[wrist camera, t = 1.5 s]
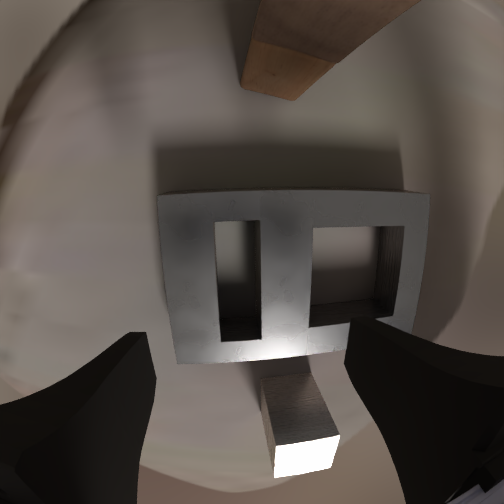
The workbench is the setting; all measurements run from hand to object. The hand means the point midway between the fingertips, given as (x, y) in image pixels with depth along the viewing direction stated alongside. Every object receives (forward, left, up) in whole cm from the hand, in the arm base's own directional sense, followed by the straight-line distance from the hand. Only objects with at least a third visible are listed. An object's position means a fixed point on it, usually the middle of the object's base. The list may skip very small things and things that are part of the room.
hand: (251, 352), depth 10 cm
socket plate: (-4, 0, -9) cm, 10 cm away
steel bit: (-4, +11, -10) cm, 15 cm away
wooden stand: (-4, -16, -10) cm, 19 cm away
